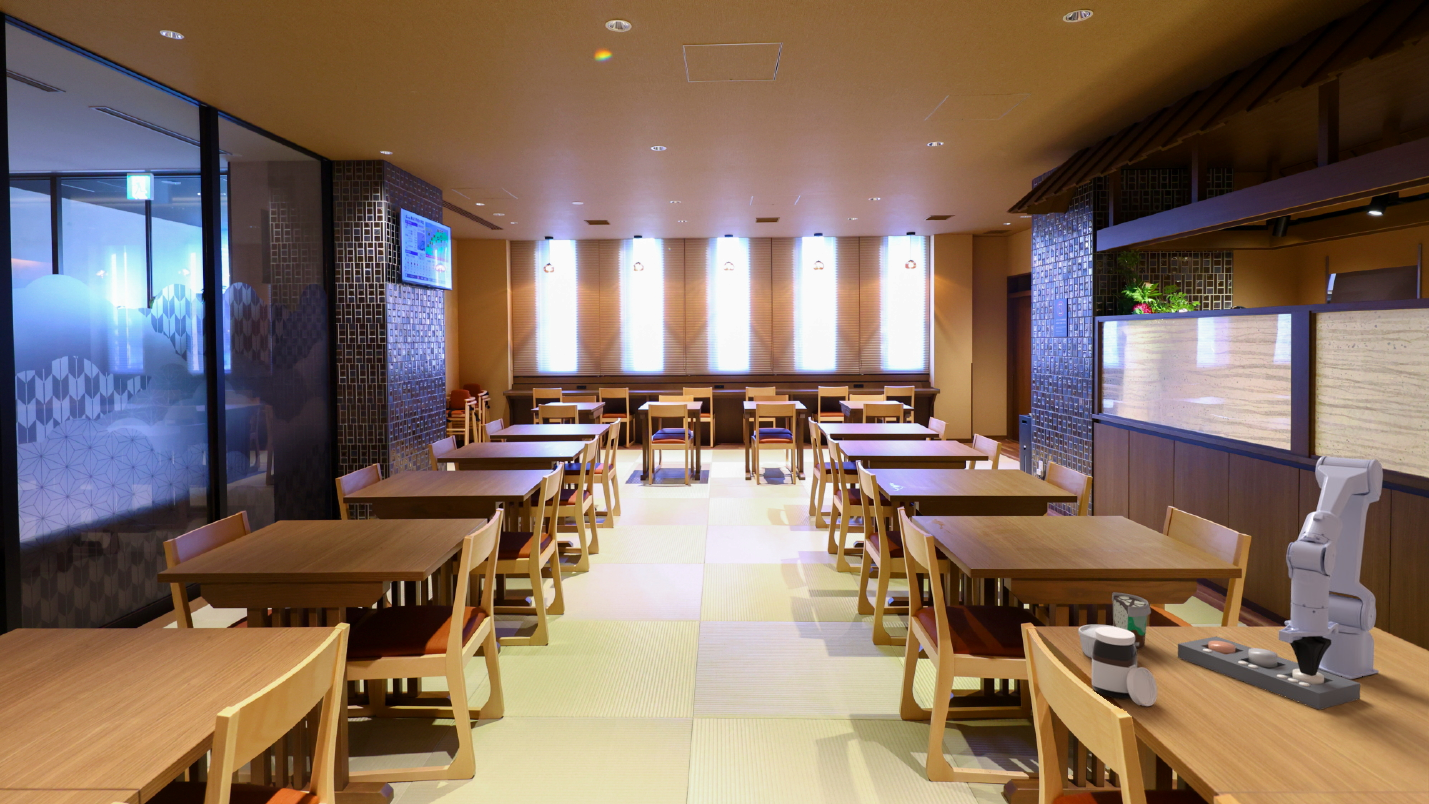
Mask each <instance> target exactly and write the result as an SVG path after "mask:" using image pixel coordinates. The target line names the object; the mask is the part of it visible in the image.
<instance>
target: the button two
mask: <svg viewBox="0 0 1429 804" xmlns="http://www.w3.org/2000/svg"><path fill="white" fill-rule="evenodd" d="M1250 648H1251V649H1249V655H1248V661H1249V662H1250V663H1251V664H1254V665H1257V666H1261V667H1267V668H1274V667H1277V659H1278V657H1279V656H1278V653H1277V652H1276V651H1275V652H1274V651H1272V650H1271V649H1270V650H1269V649H1265V648H1257V647H1255V648H1254V647H1250Z"/></svg>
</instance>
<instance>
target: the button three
mask: <svg viewBox="0 0 1429 804" xmlns="http://www.w3.org/2000/svg"><path fill="white" fill-rule="evenodd" d="M1292 678H1295V679H1298V680H1301V681H1304V682H1307V683H1309V684H1312V685H1318V684H1322V683H1324V675H1322V674H1321V673H1318V672H1317V674H1316V675H1314V676H1310V675H1307V674H1304V673H1301V672H1300V669H1294V670H1293V675H1292Z"/></svg>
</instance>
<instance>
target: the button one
mask: <svg viewBox="0 0 1429 804" xmlns="http://www.w3.org/2000/svg"><path fill="white" fill-rule="evenodd" d="M1208 649H1211V650H1214V651H1217V652H1220V653H1222V654H1225V655H1226V654H1231V653H1235V645H1233V644H1231V643H1227V642H1223V641H1210V642H1209V645H1208Z"/></svg>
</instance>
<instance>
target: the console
mask: <svg viewBox="0 0 1429 804" xmlns="http://www.w3.org/2000/svg"><path fill="white" fill-rule="evenodd" d="M1210 641H1223V642H1227V643H1231V644H1233V645H1235V653H1231V654H1226V655H1225V654H1222V653H1220V652H1217V651H1214V650H1211V649H1208V645H1209V642H1210ZM1251 648H1252V647H1250V646H1247V645H1243V644H1241V643H1238V642H1234V641H1231V640H1229V639H1226V638H1223V637H1219V636H1211V637H1206V638H1201V639H1196V640H1189V641H1186V642H1180V643H1177V658H1178V659H1182V660H1184V661H1187V662H1189V663H1192V664H1195V665H1198V666H1200V667H1202V666H1203V668H1206V669H1208V670H1211V671H1213V672H1216V671H1217V672H1216V673H1218V674H1221V675H1224V674H1225V675H1224V676H1226V677H1229V676H1231V677H1230V678H1232V677H1233V679H1235V680H1238V681H1241V682H1243V681H1244V683H1245V684H1248V685H1252V686H1254V687H1256V686H1257V688H1260V689H1261V690H1262V689H1263V690H1265V689H1266V690H1265V691H1267V690H1268V692H1270V691H1272V692H1271V693H1273V692H1274V693H1273V694H1275V693H1276V695H1278V694H1280V695H1279V696H1281V695H1282V696H1281V697H1284V696H1286V697H1287V699H1289V698H1290V699H1289V700H1292V699H1294V700H1295V702H1297V701H1299V702H1298V703H1300V702H1301V703H1300V704H1302V703H1303V704H1302V705H1305V704H1306V706H1308V707H1311V708H1314V709H1317V710H1322V709H1327V708H1331V707H1335V706H1339V705H1342V704H1346V703H1350V702H1353V701H1357V700H1356V699H1358V700H1360V699H1361V683H1360V682H1357V681H1354V680H1353V679H1347V678H1344V677H1341V676H1338V675H1335V674H1332V673H1329V672H1326V671H1323V670H1320V669H1318V671H1317V672H1318V673H1321V674H1322V675H1324V683H1322V684H1318V685H1312V684H1309V683H1307V682H1304V681H1301V680H1298V679H1295V678H1292V675H1293V670H1294V669H1299V665H1298V662H1297V661H1294V660H1290V659H1287V658H1284V657H1281V656H1278V659H1277V667H1274V668H1267V667H1261V666H1257V665H1254V664H1251V663H1250V662H1249V661H1248V655H1249V649H1251ZM1286 697H1285V698H1286ZM1294 700H1293V701H1294Z"/></svg>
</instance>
